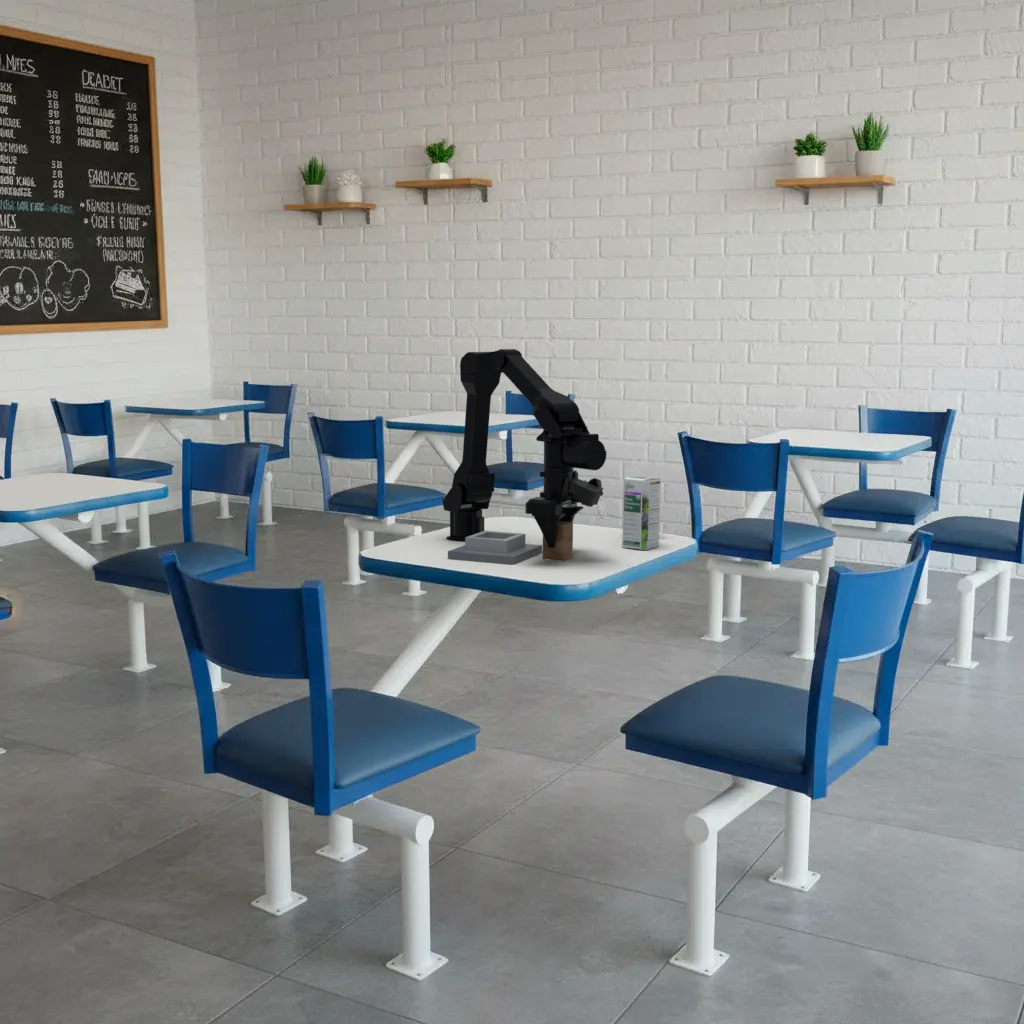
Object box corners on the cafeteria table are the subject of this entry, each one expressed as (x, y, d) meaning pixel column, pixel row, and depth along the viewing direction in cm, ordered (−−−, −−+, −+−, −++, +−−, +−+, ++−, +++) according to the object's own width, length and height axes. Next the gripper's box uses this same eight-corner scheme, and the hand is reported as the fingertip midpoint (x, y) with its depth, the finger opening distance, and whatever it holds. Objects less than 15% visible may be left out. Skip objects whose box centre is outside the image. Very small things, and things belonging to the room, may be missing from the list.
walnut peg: (542, 559, 237) (542, 523, 236) (551, 555, 241) (551, 520, 240) (564, 561, 236) (564, 525, 235) (572, 557, 240) (572, 522, 239)
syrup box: (621, 547, 250) (622, 477, 247) (636, 543, 254) (637, 474, 252) (645, 551, 246) (646, 479, 244) (659, 546, 251) (661, 477, 249)
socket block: (447, 558, 237) (447, 538, 237) (479, 547, 250) (479, 527, 249) (513, 564, 232) (513, 543, 231) (542, 552, 244) (542, 532, 244)
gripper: (579, 473, 224) (578, 556, 226) (614, 463, 241) (612, 540, 243) (524, 470, 229) (524, 551, 231) (561, 460, 245) (561, 536, 248)
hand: (557, 545), depth 238 cm, fingers open, 6 cm apart
